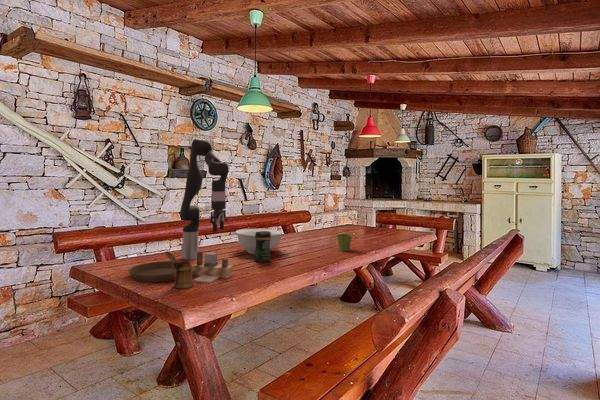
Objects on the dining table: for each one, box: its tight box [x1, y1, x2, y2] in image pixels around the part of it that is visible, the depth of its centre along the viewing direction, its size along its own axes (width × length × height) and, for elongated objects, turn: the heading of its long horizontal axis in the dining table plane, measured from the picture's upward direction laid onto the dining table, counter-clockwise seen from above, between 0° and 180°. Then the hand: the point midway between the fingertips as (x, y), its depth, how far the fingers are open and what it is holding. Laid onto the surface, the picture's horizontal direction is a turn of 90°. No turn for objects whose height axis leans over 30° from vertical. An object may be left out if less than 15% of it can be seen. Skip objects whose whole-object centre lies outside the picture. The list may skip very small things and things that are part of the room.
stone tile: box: [193, 275, 219, 284], centre depth 188 cm, size 9×9×1 cm
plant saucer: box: [128, 260, 193, 283], centre depth 195 cm, size 31×31×5 cm
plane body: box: [191, 250, 234, 279], centre depth 197 cm, size 20×7×12 cm, turn 77°
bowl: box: [235, 228, 283, 255], centre depth 258 cm, size 32×32×15 cm
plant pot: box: [335, 233, 354, 252], centre depth 271 cm, size 12×12×11 cm
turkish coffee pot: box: [165, 250, 195, 290], centre depth 174 cm, size 9×14×18 cm, turn 137°
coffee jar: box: [253, 231, 271, 263], centre depth 232 cm, size 10×8×19 cm
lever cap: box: [204, 251, 218, 264], centre depth 197 cm, size 5×4×5 cm
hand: (218, 230), depth 199 cm, fingers open, 8 cm apart
